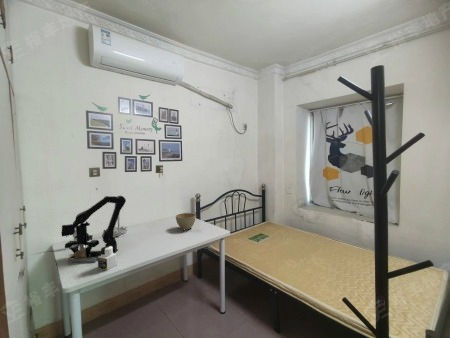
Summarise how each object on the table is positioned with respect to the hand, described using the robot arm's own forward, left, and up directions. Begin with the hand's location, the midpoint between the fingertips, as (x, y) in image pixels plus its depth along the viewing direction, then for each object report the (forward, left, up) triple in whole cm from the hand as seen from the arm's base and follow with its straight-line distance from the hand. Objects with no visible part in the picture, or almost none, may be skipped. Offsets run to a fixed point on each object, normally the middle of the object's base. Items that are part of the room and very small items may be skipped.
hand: (82, 256), depth 142 cm
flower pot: (-58, -56, -1) cm, 81 cm away
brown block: (0, 0, -1) cm, 1 cm away
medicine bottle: (-22, +13, -1) cm, 25 cm away
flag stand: (-3, -44, -1) cm, 45 cm away
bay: (-1, -3, -1) cm, 3 cm away
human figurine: (+17, -19, -1) cm, 26 cm away
